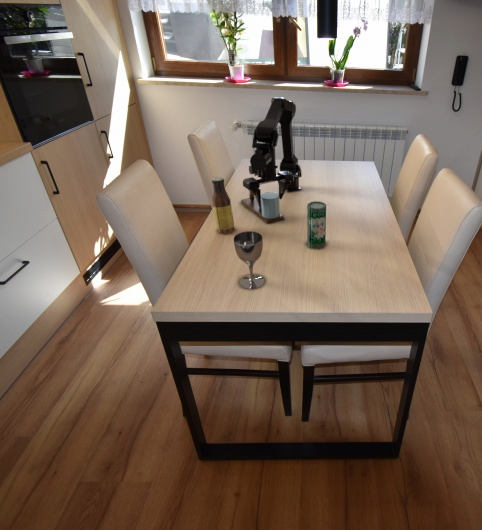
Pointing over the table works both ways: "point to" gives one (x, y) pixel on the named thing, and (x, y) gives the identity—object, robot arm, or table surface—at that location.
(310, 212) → the can
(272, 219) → the rack
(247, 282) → the wine glass
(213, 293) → the table surface
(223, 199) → the sauce bottle
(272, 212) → the cup
